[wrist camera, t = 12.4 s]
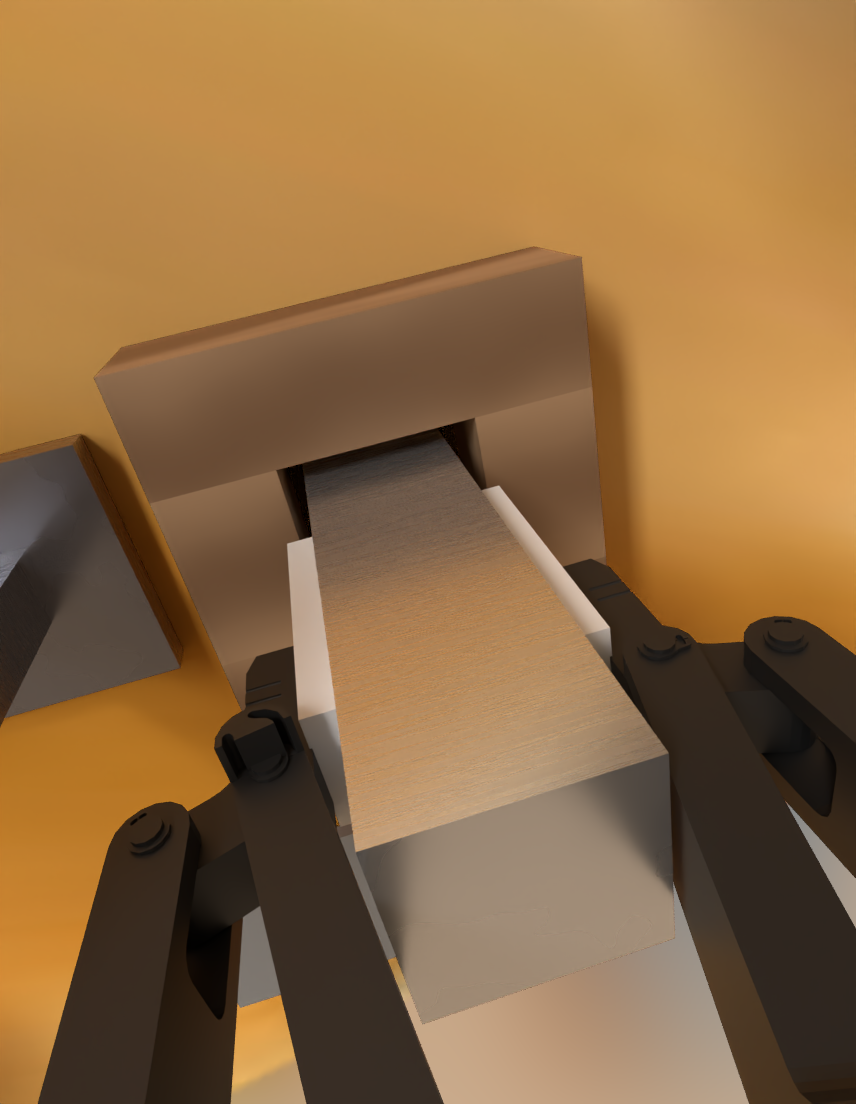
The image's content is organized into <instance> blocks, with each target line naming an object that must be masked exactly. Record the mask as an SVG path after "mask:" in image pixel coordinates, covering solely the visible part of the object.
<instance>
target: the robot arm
mask: <svg viewBox="0 0 856 1104" xmlns="http://www.w3.org/2000/svg"><path fill="white" fill-rule="evenodd" d="M481 491H482V492H483V493H484V495H485V496H486V498H487V499H488V500H489V502H490V503H491V505H492V506H493V507H494V509H495V510H496V512H497V513H498V514H499V516H500V517H501V519H502V520H503V521H504V523H505V524H506V526H507V527H508V528H509V530H510V531H511V533H512V534H513V535H514V537H515V538H516V540H517V541H518V542H519V544H520V545H521V547H522V548H523V549H524V551H525V552H526V554H527V555H528V556H529V558H530V559H531V561H532V562H533V563H534V565H535V566H536V568H537V569H538V570H539V572H540V573H541V575H542V576H543V577H544V579H545V580H546V582H547V583H548V584H549V586H550V587H551V589H552V590H553V592H554V593H555V594H556V596H557V597H558V599H559V600H560V601H561V603H562V604H563V606H564V607H565V608H566V610H567V611H568V613H569V614H570V615H571V617H572V618H573V620H574V621H575V622H576V624H577V625H578V627H579V628H580V629H581V631H582V632H583V634H584V635H585V636H586V638H587V639H588V641H589V642H590V643H591V645H592V646H593V648H594V649H595V650H596V652H597V653H598V655H599V656H600V657H601V659H602V660H603V662H604V663H605V664H606V666H607V667H608V669H609V670H610V671H611V673H612V674H613V676H614V677H615V678H616V680H617V681H618V683H619V684H620V685H621V687H622V688H623V690H624V691H625V692H626V694H627V695H628V697H629V698H630V699H631V701H632V702H633V704H634V705H635V706H636V708H637V709H638V711H639V712H640V713H641V715H642V716H643V718H644V719H645V720H646V722H647V723H648V725H649V726H650V727H651V729H652V730H653V732H654V733H655V734H656V736H657V737H658V739H659V740H660V741H661V743H662V744H663V746H664V747H665V748H666V750H667V751H668V753H669V770H670V801H671V833H672V864H673V882H674V885H675V888H676V891H677V894H678V897H679V900H680V903H681V906H682V909H683V911H684V915H685V917H686V920H687V923H688V926H689V929H690V932H691V935H692V938H693V941H694V943H695V946H696V949H697V953H698V955H699V958H700V961H701V964H702V967H703V970H704V973H705V976H706V979H707V982H708V985H709V988H710V991H711V993H712V996H713V999H714V1002H715V1005H716V1008H717V1011H718V1014H719V1017H720V1020H721V1023H722V1026H723V1028H724V1031H725V1034H726V1037H727V1040H728V1043H729V1046H730V1049H731V1052H732V1055H733V1058H734V1060H735V1063H736V1066H737V1069H738V1072H739V1075H740V1078H741V1081H742V1084H743V1087H744V1090H745V1093H746V1096H747V1099H748V1101H749V1104H856V928H855V926H854V924H853V923H852V921H851V919H850V917H849V915H848V914H847V912H846V910H845V908H844V907H843V905H842V903H841V901H840V899H839V897H838V896H837V894H836V892H835V890H834V889H833V887H832V885H831V883H830V881H829V880H828V878H827V876H826V874H825V872H824V870H823V869H822V867H821V865H820V863H819V861H818V860H817V858H816V856H815V854H814V852H813V851H812V849H811V847H810V845H809V843H808V842H807V840H806V838H805V836H804V835H803V833H802V831H801V829H800V827H799V825H798V824H797V822H796V820H795V818H794V817H793V815H792V813H791V811H790V809H789V807H788V806H787V804H786V802H787V803H788V804H789V805H790V806H791V807H792V808H793V810H794V811H795V812H796V813H797V814H798V815H799V816H800V817H801V818H802V819H803V821H804V822H805V823H806V824H807V825H808V826H809V827H810V828H811V829H812V831H813V832H814V833H815V834H816V835H817V836H818V837H819V838H820V839H821V840H822V842H823V843H824V844H825V845H826V846H827V847H828V848H829V849H830V850H831V852H832V853H833V854H834V855H835V856H836V857H837V858H838V859H839V860H840V861H841V863H842V864H843V865H844V866H845V867H846V868H847V869H848V870H849V871H850V873H851V874H852V875H853V876H854V877H855V878H856V655H855V654H853V653H852V652H851V651H849V650H848V649H847V648H845V647H844V646H842V645H841V644H840V643H838V642H837V641H836V640H834V639H833V638H832V637H830V636H829V635H828V634H826V633H825V632H824V631H822V630H821V629H820V628H818V627H816V626H815V625H813V624H811V623H809V622H807V621H804V620H800V619H796V618H793V617H779V616H774V617H768V618H763V619H760V620H758V621H756V622H754V623H752V624H750V625H749V626H748V628H747V629H746V631H745V632H744V642H734V643H718V644H702V643H697V642H696V641H695V640H694V639H693V638H692V637H691V636H690V635H689V634H688V633H686V632H684V631H682V630H680V629H678V628H673V627H668V626H662V625H661V623H660V622H659V621H658V620H657V619H656V618H655V617H654V616H653V615H652V613H651V612H650V611H649V610H648V609H647V608H646V607H645V606H644V605H643V604H642V602H641V601H640V600H639V599H638V598H637V597H636V596H635V595H634V594H633V592H630V589H629V588H628V587H627V586H626V585H625V584H624V582H621V579H620V578H619V577H618V576H617V575H616V574H615V573H614V571H613V570H612V569H611V568H610V567H608V566H606V565H604V564H602V563H600V562H597V561H595V560H593V559H587V560H584V561H580V562H577V563H574V564H570V565H567V566H563V567H562V566H561V564H560V563H559V562H558V561H557V559H556V558H555V557H554V555H553V554H552V553H551V552H550V550H549V549H548V548H547V546H546V545H545V544H544V543H543V541H542V540H541V539H540V537H539V536H538V535H537V534H536V532H535V531H534V530H533V529H532V527H531V526H530V525H529V523H528V522H527V521H526V520H525V518H524V517H523V516H522V514H521V513H520V512H519V511H518V509H517V508H516V507H515V505H514V504H513V503H512V502H511V500H510V499H509V498H508V497H507V495H506V494H505V493H504V491H503V490H502V489H501V488H500V486H495V487H492V488H488V489H484V490H481ZM287 550H288V566H289V581H290V597H291V613H292V628H293V644H294V646H291V647H287V648H284V649H280V650H277V651H273V652H270V653H266V654H263V655H259V656H256V658H255V659H254V661H253V663H252V665H251V666H250V668H249V670H248V672H247V673H246V694H245V705H246V707H245V710H243V711H242V712H240V713H238V714H236V715H235V716H233V717H232V718H231V719H230V720H228V721H227V722H226V723H225V724H224V725H223V726H222V727H221V729H220V731H219V732H218V734H217V736H216V738H215V747H214V749H215V751H216V753H217V755H218V758H219V760H220V762H221V764H222V766H223V768H224V770H225V772H226V774H227V776H228V778H229V780H230V783H229V784H228V785H227V786H226V787H225V788H224V789H223V790H222V791H221V792H219V793H218V794H216V795H215V796H213V797H212V798H210V799H209V800H207V801H205V802H204V803H202V804H200V805H198V806H197V807H195V808H193V809H191V810H190V811H187V810H186V809H185V808H184V807H183V806H182V805H180V804H177V803H173V802H164V803H156V804H154V805H151V806H149V807H147V808H144V809H142V810H140V811H139V812H137V813H136V814H135V815H133V816H132V817H130V818H129V819H128V820H126V821H125V823H124V824H123V825H122V826H121V827H120V828H119V829H118V831H117V832H116V833H115V835H114V837H113V839H112V841H111V843H110V845H109V848H108V851H107V855H106V858H105V862H104V866H103V869H102V873H101V876H100V880H99V884H98V887H97V891H96V895H95V898H94V902H93V905H92V909H91V913H90V916H89V920H88V924H87V927H86V931H85V934H84V938H83V942H82V945H81V949H80V952H79V956H78V960H77V963H76V967H75V971H74V974H73V978H72V981H71V985H70V989H69V992H68V996H67V1000H66V1003H65V1007H64V1010H63V1014H62V1018H61V1021H60V1025H59V1029H58V1032H57V1036H56V1039H55V1043H54V1047H53V1050H52V1054H51V1057H50V1061H49V1065H48V1068H47V1072H46V1076H45V1079H44V1083H43V1086H42V1090H41V1094H40V1097H39V1101H38V1104H230V1103H231V1090H232V1075H233V1060H234V1045H235V1030H236V1016H237V1001H238V986H239V971H240V956H241V942H242V927H243V917H244V916H246V915H247V914H249V913H250V912H252V911H253V910H255V909H256V908H258V907H259V906H260V908H261V912H262V917H263V921H264V925H265V929H266V934H267V938H268V942H269V946H270V951H271V955H272V959H273V963H274V968H275V972H276V976H277V980H278V985H279V989H280V993H281V997H282V1002H283V1006H284V1010H285V1014H286V1019H287V1023H288V1027H289V1031H290V1036H291V1040H292V1044H293V1048H294V1053H295V1057H296V1061H297V1065H298V1070H299V1074H300V1078H301V1082H302V1086H303V1091H304V1095H305V1099H306V1103H307V1104H444V1103H443V1100H442V1098H441V1095H440V1093H439V1090H438V1088H437V1085H436V1082H435V1080H434V1078H433V1075H432V1072H431V1070H430V1067H429V1065H428V1062H427V1060H426V1057H425V1054H424V1052H423V1049H422V1047H421V1044H420V1042H419V1039H418V1036H417V1034H416V1031H415V1029H414V1026H413V1024H412V1021H411V1019H410V1016H409V1013H408V1011H407V1008H406V1006H405V1003H404V1001H403V998H402V996H401V993H400V990H399V988H398V985H397V983H396V980H395V978H394V975H393V973H392V970H391V967H390V965H389V962H388V960H387V957H386V955H385V952H384V950H383V947H382V944H381V942H380V939H379V937H378V934H377V932H376V929H375V927H374V924H373V921H372V919H371V916H370V914H369V911H368V909H367V906H366V904H365V901H364V898H363V896H362V893H361V891H360V888H359V886H358V883H357V880H356V878H355V875H354V873H353V870H352V868H351V865H350V863H349V860H348V857H347V855H346V852H345V850H344V847H343V845H342V842H341V840H340V837H339V835H338V832H337V827H336V818H335V814H336V817H337V819H338V822H339V824H340V827H342V826H345V825H348V824H351V816H350V808H349V801H348V794H347V786H346V779H345V772H344V765H343V757H342V750H341V743H340V735H339V728H338V721H337V713H336V706H335V699H334V692H333V684H332V677H331V670H330V662H329V655H328V648H327V640H326V633H325V626H324V619H323V611H322V604H321V597H320V589H319V582H318V575H317V567H316V560H315V553H314V545H313V538H312V537H310V538H306V539H302V540H299V541H295V542H292V543H288V544H287ZM785 801H786V802H785Z"/></svg>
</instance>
